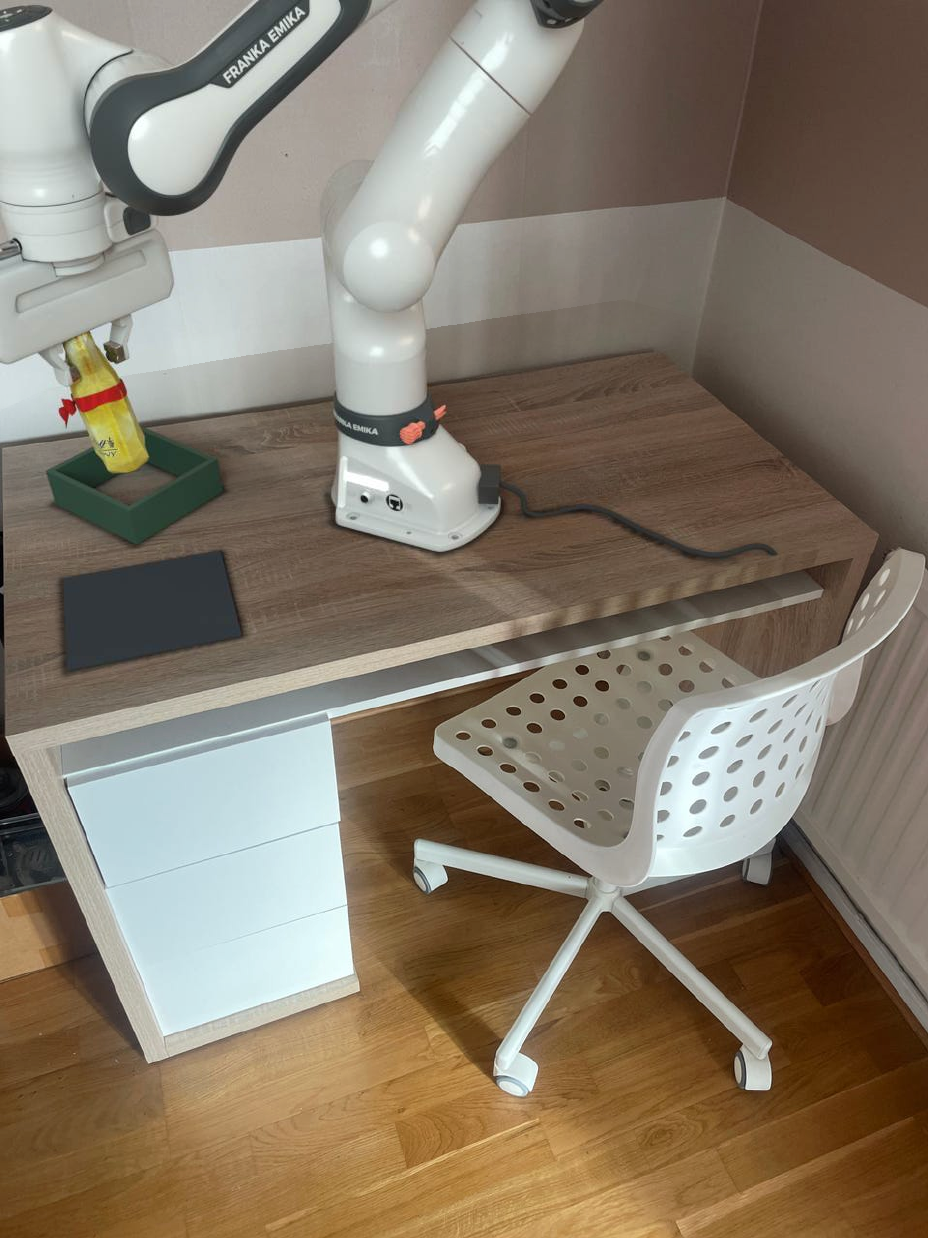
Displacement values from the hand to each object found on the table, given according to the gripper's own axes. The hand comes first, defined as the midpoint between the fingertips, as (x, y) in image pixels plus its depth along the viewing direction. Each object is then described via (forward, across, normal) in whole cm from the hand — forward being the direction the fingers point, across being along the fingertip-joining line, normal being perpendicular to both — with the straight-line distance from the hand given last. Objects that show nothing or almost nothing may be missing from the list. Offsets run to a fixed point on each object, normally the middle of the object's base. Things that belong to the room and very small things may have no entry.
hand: (95, 371), depth 94 cm
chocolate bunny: (+9, 0, 0) cm, 9 cm away
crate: (+27, +12, +15) cm, 33 cm away
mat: (+27, -2, -3) cm, 27 cm away
